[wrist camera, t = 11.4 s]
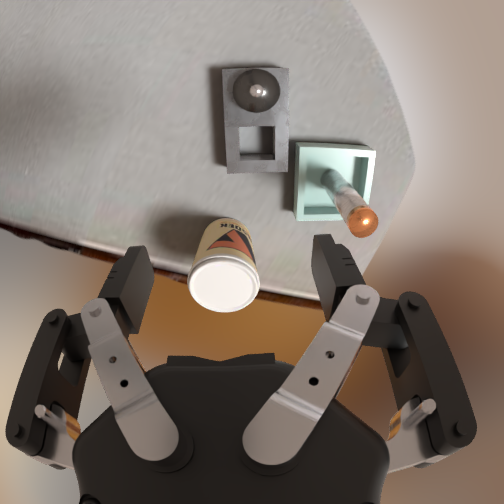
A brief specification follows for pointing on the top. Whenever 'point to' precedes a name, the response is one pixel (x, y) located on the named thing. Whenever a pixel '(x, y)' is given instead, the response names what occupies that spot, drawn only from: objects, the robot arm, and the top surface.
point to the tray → (320, 160)
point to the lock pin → (349, 204)
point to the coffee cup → (224, 267)
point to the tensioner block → (256, 116)
